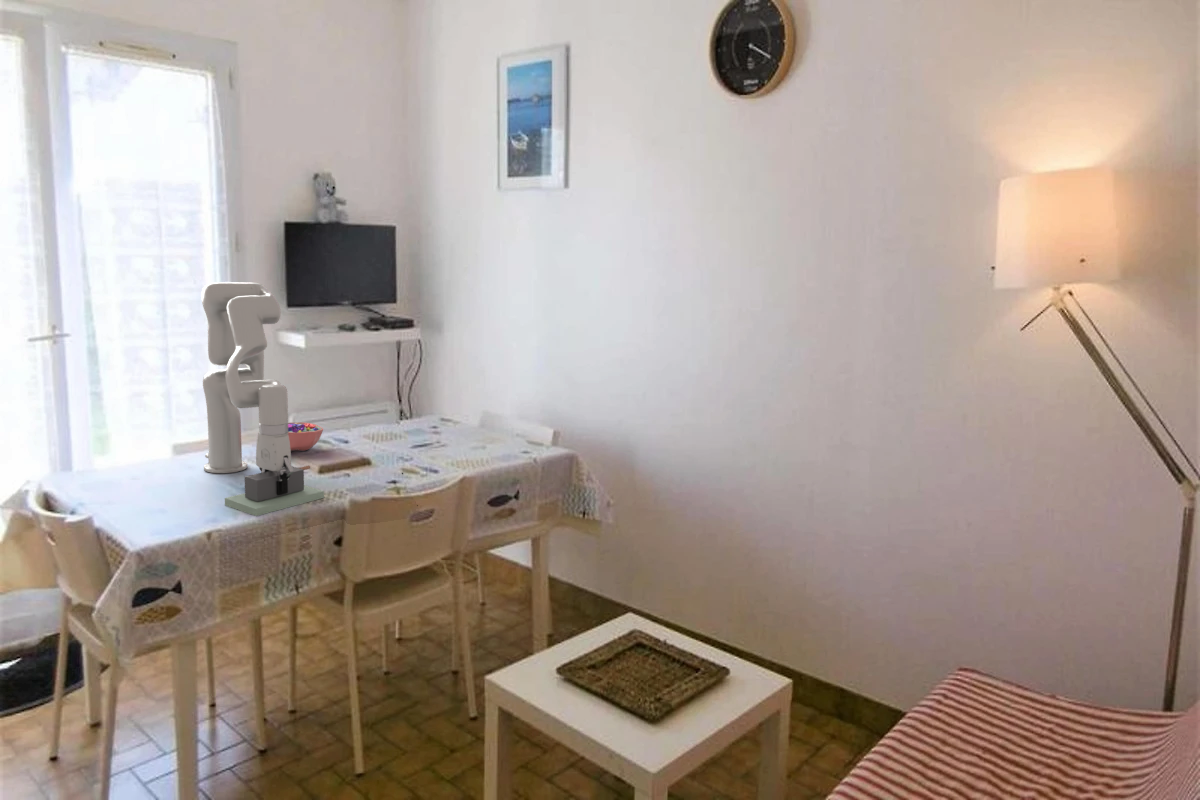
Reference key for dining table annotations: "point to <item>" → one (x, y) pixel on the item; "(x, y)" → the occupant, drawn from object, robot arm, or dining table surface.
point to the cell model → (303, 435)
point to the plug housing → (272, 484)
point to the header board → (273, 501)
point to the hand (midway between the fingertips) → (275, 491)
